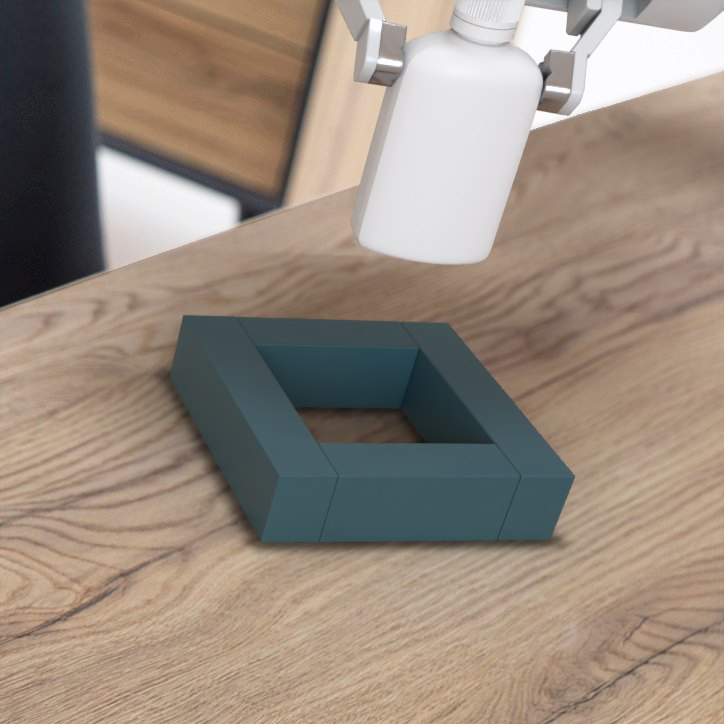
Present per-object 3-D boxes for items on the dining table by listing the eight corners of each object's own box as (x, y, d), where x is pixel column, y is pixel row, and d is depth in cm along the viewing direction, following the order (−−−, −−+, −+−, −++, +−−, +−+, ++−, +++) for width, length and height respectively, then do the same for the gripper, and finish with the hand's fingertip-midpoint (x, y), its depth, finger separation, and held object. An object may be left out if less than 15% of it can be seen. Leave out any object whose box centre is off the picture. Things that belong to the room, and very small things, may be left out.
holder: (423, 397, 82) (448, 321, 80) (544, 557, 73) (576, 476, 70) (165, 394, 79) (182, 314, 76) (256, 560, 69) (279, 475, 67)
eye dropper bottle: (368, 207, 72) (452, -94, 65) (497, 251, 71) (597, -53, 63) (334, 241, 69) (418, -71, 62) (467, 287, 68) (570, -28, 60)
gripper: (722, -155, 71) (693, 168, 69) (230, -239, 69) (189, 88, 68) (801, -254, 64) (772, 98, 63) (262, -348, 63) (218, 9, 62)
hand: (465, 92), depth 65 cm, fingers closed on eye dropper bottle, 5 cm apart
